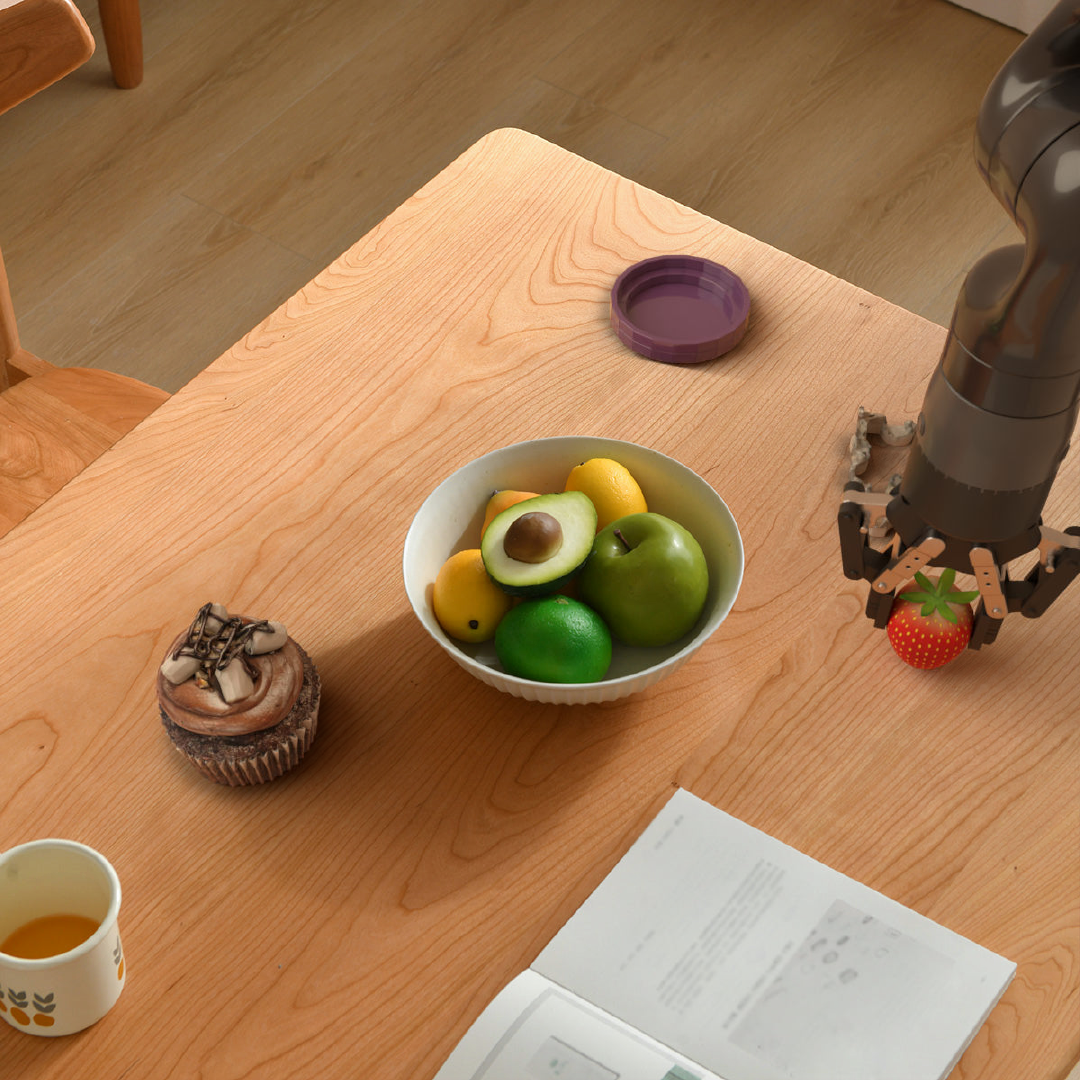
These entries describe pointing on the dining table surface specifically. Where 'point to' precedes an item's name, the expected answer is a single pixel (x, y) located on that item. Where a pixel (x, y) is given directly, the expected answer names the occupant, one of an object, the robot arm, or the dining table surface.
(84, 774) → the dining table surface
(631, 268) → the dish
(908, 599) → the fruit
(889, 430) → the egg carton
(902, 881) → the dining table surface
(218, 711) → the cupcake
